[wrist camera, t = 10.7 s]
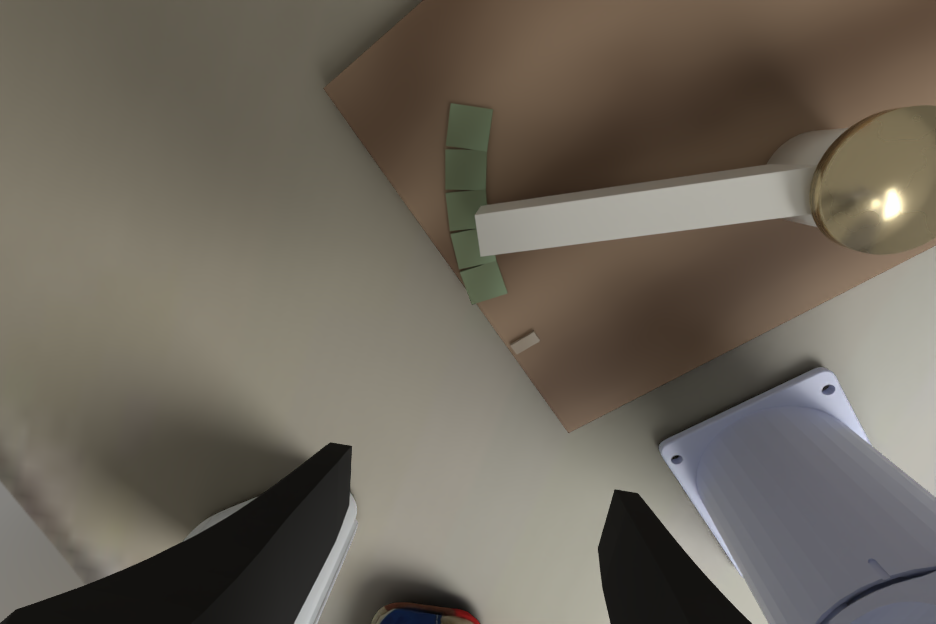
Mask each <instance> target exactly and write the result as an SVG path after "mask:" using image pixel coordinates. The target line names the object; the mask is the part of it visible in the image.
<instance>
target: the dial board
mask: <svg viewBox="0 0 936 624" xmlns="http://www.w3.org/2000/svg"><path fill="white" fill-rule="evenodd" d="M323 89H324V90H325V92H326V93H327V94H328V96H329V97H330V99H331V100H332V101H333V103H334V104H335V106H336V107H337V108H338V110H339V111H340V113H341V114H342V116H343V117H344V118H345V120H346V121H347V123H348V124H349V125H350V127H351V128H352V130H353V131H354V132H355V134H356V135H357V137H358V138H359V139H360V141H361V142H362V144H363V145H364V146H365V148H366V149H367V151H368V152H369V153H370V155H371V156H372V158H373V159H374V160H375V162H376V163H377V165H378V166H379V168H380V169H381V170H382V172H383V173H384V175H385V176H386V177H387V179H388V180H389V182H390V183H391V184H392V186H393V187H394V189H395V190H396V191H397V193H398V194H399V196H400V197H401V198H402V200H403V201H404V203H405V204H406V205H407V207H408V208H409V210H410V211H411V212H412V214H413V215H414V217H415V218H416V220H417V221H418V222H419V224H420V225H421V227H422V228H423V229H424V231H425V232H426V234H427V235H428V236H429V238H430V239H431V241H432V242H433V243H434V245H435V246H436V248H437V249H438V250H439V252H440V253H441V255H442V256H443V257H444V259H445V260H446V262H447V263H448V264H449V266H450V267H451V269H452V270H453V272H454V273H455V274H456V276H457V277H458V279H459V280H460V281H461V283H462V284H463V286H464V287H465V288H466V290H467V293H468V295H469V298H470V301H471V303H472V305H473V304H477V305H478V307H479V308H480V309H481V311H482V312H483V314H484V315H485V316H486V318H487V319H488V321H489V322H490V324H491V325H492V326H493V328H494V329H495V331H496V332H497V333H498V335H499V336H500V338H501V339H502V340H503V342H504V343H505V345H506V346H507V347H508V349H509V350H510V352H511V353H512V354H513V356H514V357H515V359H516V360H517V361H518V363H519V364H520V366H521V367H522V368H523V370H524V371H525V373H526V374H527V376H528V377H529V378H530V380H531V381H532V383H533V384H534V385H535V387H536V388H537V390H538V391H539V392H540V394H541V395H542V397H543V398H544V399H545V401H546V402H547V404H548V405H549V406H550V408H551V409H552V411H553V412H554V413H555V415H556V416H557V418H558V419H559V420H560V422H561V423H562V425H563V426H564V428H565V429H566V430H567V432H568V433H570V432H572V431H574V430H576V429H577V428H579V427H581V426H583V425H585V424H587V423H589V422H591V421H593V420H595V419H597V418H599V417H601V416H603V415H605V414H607V413H609V412H611V411H613V410H615V409H617V408H619V407H621V406H622V405H624V404H626V403H628V402H630V401H632V400H634V399H636V398H638V397H640V396H642V395H644V394H646V393H648V392H650V391H652V390H654V389H656V388H658V387H660V386H662V385H664V384H666V383H668V382H669V381H671V380H673V379H675V378H677V377H679V376H681V375H683V374H685V373H687V372H689V371H691V370H693V369H695V368H697V367H699V366H701V365H703V364H705V363H707V362H709V361H711V360H713V359H714V358H716V357H718V356H720V355H722V354H724V353H726V352H728V351H730V350H732V349H734V348H736V347H738V346H740V345H742V344H744V343H746V342H748V341H750V340H752V339H754V338H756V337H758V336H759V335H761V334H763V333H765V332H767V331H769V330H771V329H773V328H775V327H777V326H779V325H781V324H783V323H785V322H787V321H789V320H791V319H793V318H795V317H797V316H799V315H801V314H803V313H804V312H806V311H808V310H810V309H812V308H814V307H816V306H818V305H820V304H822V303H824V302H826V301H828V300H830V299H832V298H834V297H836V296H838V295H840V294H842V293H844V292H846V291H848V290H850V289H851V288H853V287H855V286H857V285H859V284H861V283H863V282H865V281H867V280H869V279H871V278H873V277H875V276H877V275H879V274H881V273H883V272H885V271H887V270H889V269H891V268H893V267H895V266H896V265H898V264H900V263H902V262H904V261H906V260H908V259H910V258H912V257H914V256H916V255H918V254H920V253H922V252H924V251H926V250H928V249H930V248H932V247H934V246H936V238H934V239H933V240H931V241H929V242H927V243H925V244H923V245H921V246H919V247H917V248H914V249H911V250H908V251H905V252H901V253H895V254H887V255H875V254H868V253H862V252H859V251H855V250H851V249H848V248H845V247H842V246H839V245H837V244H835V243H834V242H832V241H831V240H829V239H828V238H826V237H825V236H824V235H823V234H822V233H821V231H820V230H819V229H818V227H814V226H810V225H805V224H801V223H797V222H792V221H788V220H785V219H782V218H777V219H769V220H761V221H754V222H746V223H738V224H730V225H723V226H715V227H707V228H699V229H692V230H684V231H676V232H668V233H661V234H653V235H645V236H637V237H630V238H622V239H614V240H606V241H599V242H591V243H583V244H575V245H568V246H560V247H552V248H544V249H537V250H529V251H521V252H513V253H506V254H498V255H490V256H482V257H481V256H480V249H479V242H478V235H477V228H476V221H475V214H476V212H477V211H478V209H479V208H480V207H481V206H484V205H491V204H497V203H504V202H511V201H518V200H525V199H532V198H539V197H546V196H553V195H560V194H566V193H573V192H580V191H587V190H594V189H601V188H608V187H615V186H622V185H629V184H636V183H642V182H649V181H656V180H663V179H670V178H677V177H684V176H691V175H698V174H705V173H712V172H718V171H725V170H732V169H739V168H746V167H753V166H760V165H766V164H767V162H768V161H769V159H770V158H771V156H772V155H773V154H774V152H775V151H776V150H777V149H778V148H779V147H780V146H781V145H783V144H784V143H785V142H786V141H788V140H790V139H791V138H793V137H795V136H797V135H799V134H802V133H805V132H810V131H818V130H829V129H841V128H850V127H851V126H852V125H854V124H856V123H857V122H859V121H861V120H862V119H864V118H866V117H869V116H871V115H873V114H876V113H879V112H882V111H885V110H890V109H894V108H902V107H910V106H920V105H931V106H936V0H423V1H422V2H421V3H419V4H418V5H417V6H416V7H415V8H414V9H413V10H412V11H410V12H409V13H408V14H407V15H406V16H405V17H404V18H402V19H401V20H400V21H399V22H398V23H397V24H396V25H395V26H393V27H392V28H391V29H390V30H389V31H388V32H387V33H385V34H384V35H383V36H382V37H381V38H380V39H379V40H378V41H376V42H375V43H374V44H373V45H372V46H371V47H370V48H369V49H367V50H366V51H365V52H364V53H363V54H362V55H361V56H359V57H358V58H357V59H356V60H355V61H354V62H353V63H352V64H350V65H349V66H348V67H347V68H346V69H345V70H344V71H342V72H341V73H340V74H339V75H338V76H337V77H336V78H335V79H333V80H332V81H331V82H330V83H329V84H328V85H327V86H326V87H324V88H323Z"/></svg>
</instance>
